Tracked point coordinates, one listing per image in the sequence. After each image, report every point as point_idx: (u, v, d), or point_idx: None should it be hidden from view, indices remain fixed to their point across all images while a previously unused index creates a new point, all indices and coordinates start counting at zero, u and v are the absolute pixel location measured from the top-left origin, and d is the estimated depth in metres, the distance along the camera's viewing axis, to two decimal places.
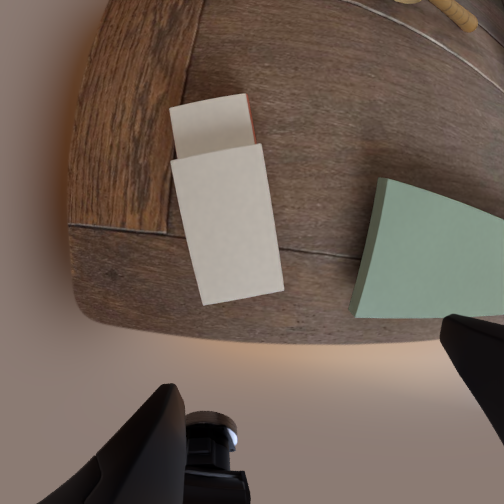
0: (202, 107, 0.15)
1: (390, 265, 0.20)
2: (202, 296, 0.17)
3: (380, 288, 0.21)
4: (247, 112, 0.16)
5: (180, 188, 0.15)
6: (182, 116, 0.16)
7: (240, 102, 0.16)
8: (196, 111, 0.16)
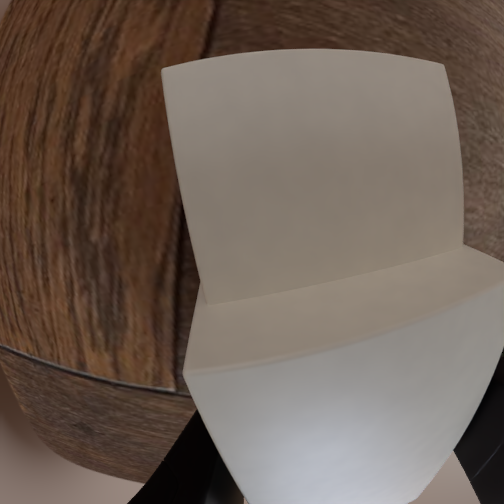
0: (313, 74, 0.03)
1: None
2: None
3: None
4: (455, 130, 0.04)
5: (239, 453, 0.03)
6: (222, 105, 0.03)
7: (437, 88, 0.03)
8: (287, 89, 0.03)
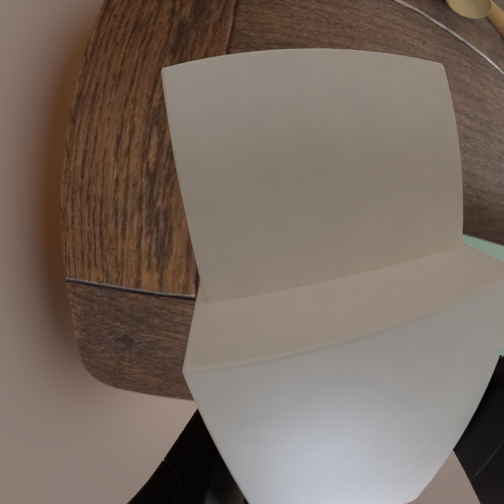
0: (312, 74, 0.03)
1: None
2: None
3: None
4: (454, 130, 0.04)
5: (239, 452, 0.03)
6: (222, 105, 0.03)
7: (436, 88, 0.03)
8: (286, 88, 0.03)
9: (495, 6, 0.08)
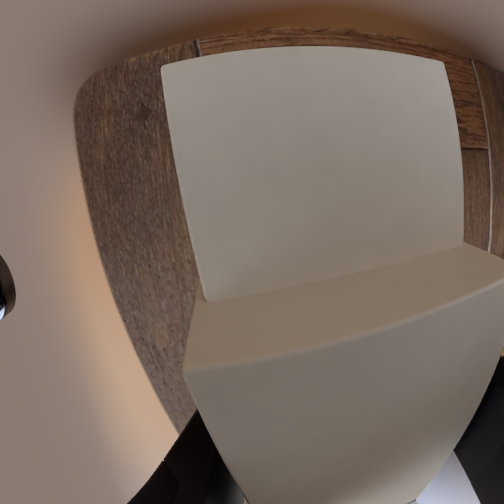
0: (312, 71, 0.03)
1: None
2: None
3: None
4: (455, 128, 0.04)
5: (238, 451, 0.03)
6: (221, 102, 0.03)
7: (437, 86, 0.03)
8: (286, 85, 0.03)
9: None
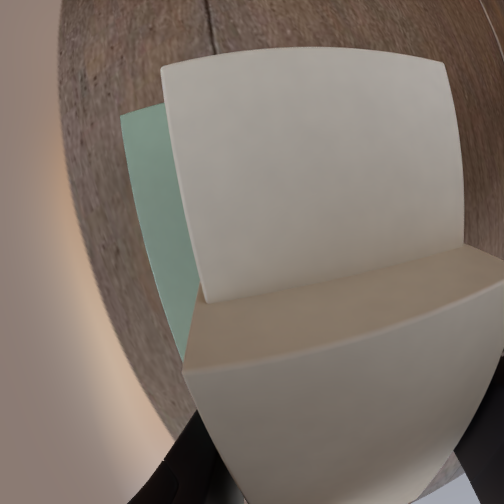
0: (313, 72, 0.03)
1: None
2: None
3: None
4: (455, 129, 0.04)
5: (238, 453, 0.03)
6: (221, 103, 0.03)
7: (437, 87, 0.03)
8: (286, 86, 0.03)
9: None
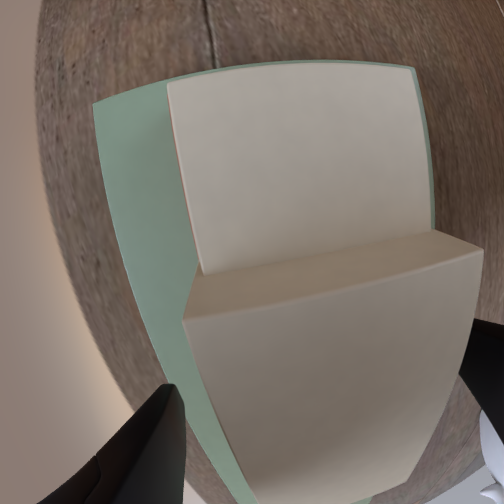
0: (290, 86, 0.04)
1: None
2: None
3: None
4: (420, 127, 0.04)
5: (228, 404, 0.04)
6: (215, 113, 0.04)
7: (403, 91, 0.04)
8: (268, 98, 0.04)
9: None
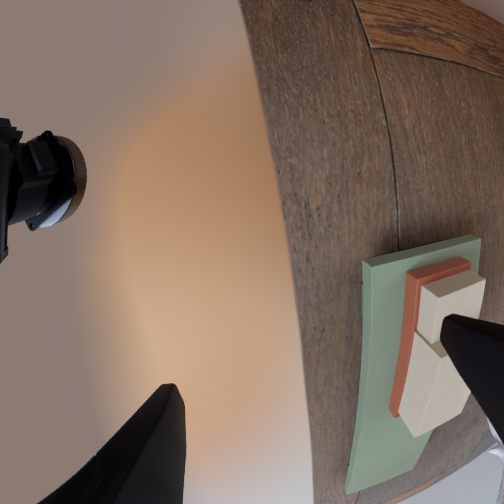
0: (460, 295, 0.14)
1: None
2: (417, 433, 0.16)
3: (404, 281, 0.17)
4: (482, 296, 0.14)
5: (439, 376, 0.14)
6: (446, 305, 0.14)
7: (481, 287, 0.14)
8: (455, 300, 0.14)
9: None
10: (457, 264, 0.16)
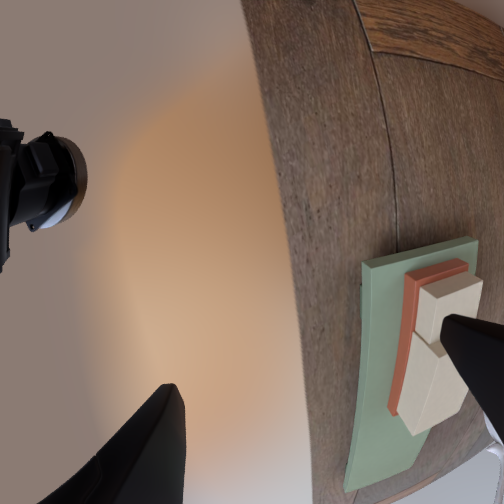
0: (458, 296, 0.14)
1: None
2: (415, 432, 0.16)
3: (402, 282, 0.18)
4: (479, 297, 0.15)
5: (437, 375, 0.14)
6: (443, 306, 0.14)
7: (479, 289, 0.14)
8: (453, 301, 0.14)
9: None
10: (455, 266, 0.16)
